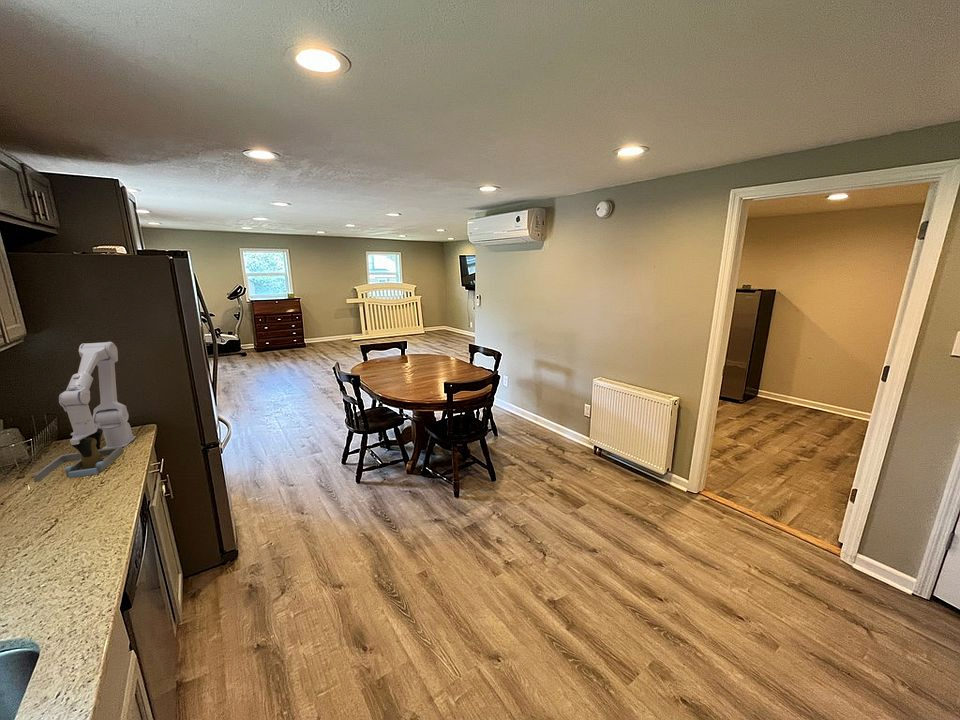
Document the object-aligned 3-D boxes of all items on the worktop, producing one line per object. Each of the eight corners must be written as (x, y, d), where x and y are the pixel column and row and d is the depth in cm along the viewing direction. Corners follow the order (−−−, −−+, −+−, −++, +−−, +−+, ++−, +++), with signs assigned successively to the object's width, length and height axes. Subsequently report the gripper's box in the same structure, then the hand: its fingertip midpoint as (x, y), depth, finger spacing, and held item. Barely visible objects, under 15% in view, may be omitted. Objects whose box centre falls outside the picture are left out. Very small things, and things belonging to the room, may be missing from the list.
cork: (91, 469, 143) (83, 443, 140) (77, 468, 143) (69, 442, 141) (108, 461, 148) (101, 435, 146) (95, 460, 149) (87, 435, 147)
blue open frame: (62, 460, 149) (60, 453, 148) (123, 451, 156) (121, 444, 155) (32, 483, 135) (29, 475, 134) (101, 473, 141) (98, 465, 140)
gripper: (80, 414, 147) (90, 446, 150) (54, 430, 133) (66, 464, 137) (103, 412, 149) (112, 443, 153) (80, 427, 136) (91, 461, 140)
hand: (92, 453), depth 145 cm, fingers closed on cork, 5 cm apart
